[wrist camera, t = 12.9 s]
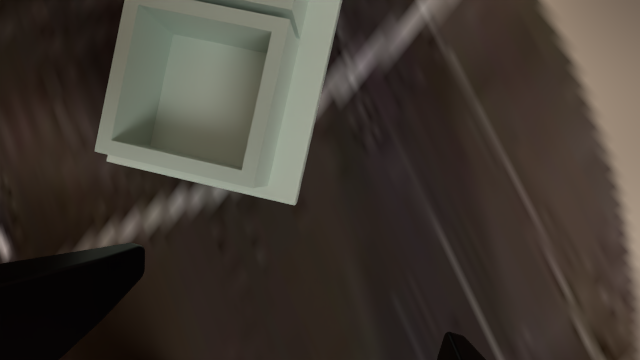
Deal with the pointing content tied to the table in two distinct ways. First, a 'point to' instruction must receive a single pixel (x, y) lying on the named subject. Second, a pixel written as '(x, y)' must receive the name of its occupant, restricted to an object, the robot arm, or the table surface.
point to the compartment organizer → (219, 91)
